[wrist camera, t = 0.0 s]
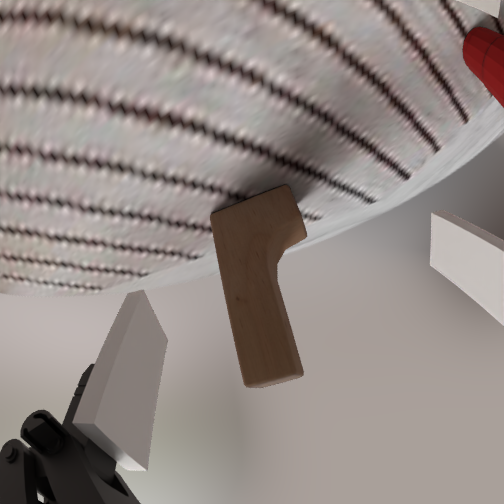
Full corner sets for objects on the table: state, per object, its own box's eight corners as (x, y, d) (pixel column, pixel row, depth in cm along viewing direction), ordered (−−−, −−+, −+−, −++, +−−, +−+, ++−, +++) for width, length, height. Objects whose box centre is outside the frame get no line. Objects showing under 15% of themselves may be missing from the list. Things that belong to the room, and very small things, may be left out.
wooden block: (287, 182, 29) (353, 355, 20) (295, 206, 33) (352, 360, 24) (207, 213, 30) (243, 388, 21) (224, 234, 34) (259, 388, 25)
